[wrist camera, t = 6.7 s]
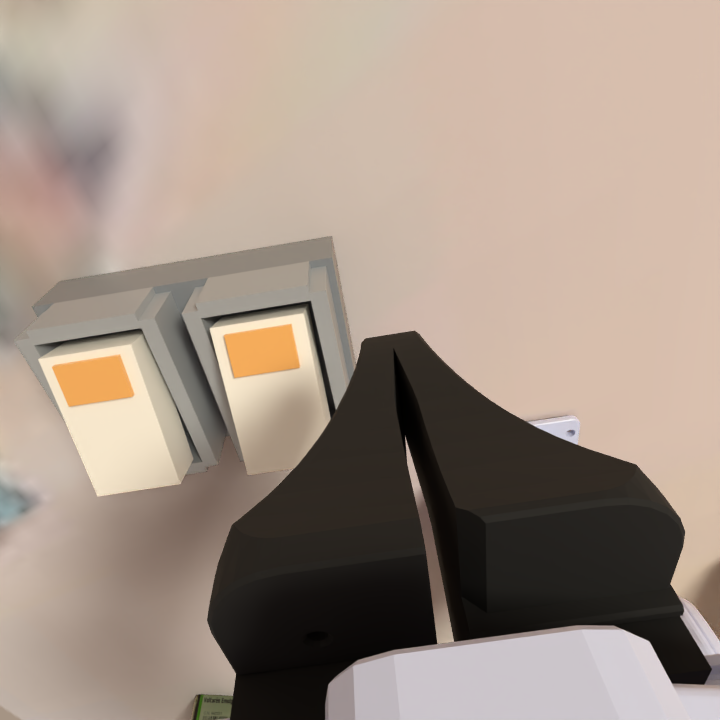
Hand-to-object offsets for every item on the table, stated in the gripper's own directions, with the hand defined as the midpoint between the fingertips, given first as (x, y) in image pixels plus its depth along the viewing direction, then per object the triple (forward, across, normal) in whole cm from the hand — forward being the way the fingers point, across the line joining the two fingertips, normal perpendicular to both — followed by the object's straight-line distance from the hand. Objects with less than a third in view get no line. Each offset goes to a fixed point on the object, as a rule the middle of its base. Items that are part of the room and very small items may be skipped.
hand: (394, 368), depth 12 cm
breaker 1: (+6, +11, +4) cm, 13 cm away
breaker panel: (+10, +8, +4) cm, 13 cm away
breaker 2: (+6, +4, +4) cm, 8 cm away
